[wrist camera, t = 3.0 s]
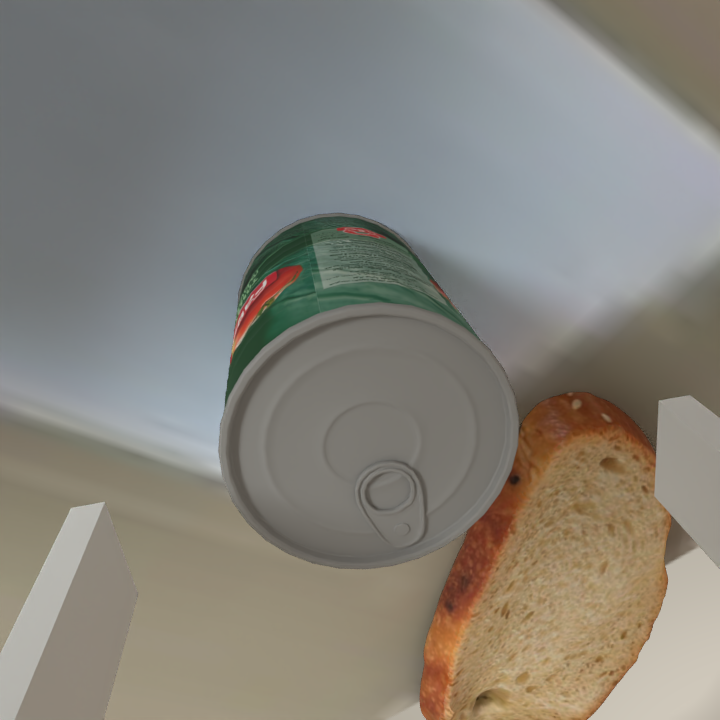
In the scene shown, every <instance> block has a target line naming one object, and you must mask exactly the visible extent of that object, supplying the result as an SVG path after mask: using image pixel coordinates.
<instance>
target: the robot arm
mask: <svg viewBox="0 0 720 720" xmlns="http://www.w3.org/2000/svg"><path fill="white" fill-rule="evenodd" d="M654 496H655V497H656V499H657V500H658V501H659V502H660V503H661V504H662V505H663V506H664V507H665V509H666V510H667V511H668V512H669V513H670V514H671V515H672V516H673V518H674V519H675V520H676V521H677V522H678V523H679V524H680V525H681V526H682V528H683V529H684V530H685V531H686V532H687V533H688V534H689V535H690V536H691V538H692V539H693V540H694V541H695V542H696V543H697V544H698V545H699V546H700V548H701V549H702V550H703V551H704V552H705V553H706V554H707V555H708V556H709V558H710V559H711V560H712V561H713V562H714V563H715V564H716V565H717V566H718V568H719V569H720V418H719V417H718V416H716V415H715V414H714V413H713V412H711V411H710V410H709V409H707V408H706V407H705V406H703V405H702V404H701V403H700V402H698V401H697V400H696V399H694V398H693V397H692V396H691V395H687V396H681V397H676V398H670V399H665V400H659V406H658V428H657V449H656V470H655V491H654ZM137 597H138V592H137V589H136V586H135V584H134V581H133V578H132V575H131V573H130V570H129V567H128V564H127V562H126V559H125V556H124V553H123V551H122V548H121V545H120V542H119V540H118V537H117V534H116V531H115V528H114V526H113V523H112V520H111V517H110V515H109V512H108V509H107V506H106V504H105V502H102V503H96V504H91V505H85V506H80V507H74V508H71V509H70V512H69V514H68V516H67V518H66V520H65V522H64V524H63V526H62V528H61V530H60V532H59V534H58V536H57V538H56V540H55V542H54V544H53V546H52V549H51V551H50V553H49V555H48V557H47V559H46V561H45V563H44V565H43V567H42V569H41V571H40V573H39V575H38V577H37V579H36V581H35V583H34V586H33V588H32V590H31V592H30V594H29V596H28V598H27V600H26V602H25V604H24V606H23V608H22V610H21V612H20V614H19V616H18V618H17V620H16V623H15V625H14V627H13V629H12V631H11V633H10V635H9V637H8V639H7V641H6V643H5V645H4V647H3V649H2V651H1V653H0V720H104V716H105V713H106V709H107V706H108V702H109V698H110V695H111V691H112V687H113V684H114V680H115V676H116V673H117V669H118V666H119V662H120V658H121V655H122V651H123V647H124V644H125V640H126V637H127V633H128V629H129V626H130V622H131V618H132V615H133V611H134V607H135V604H136V600H137Z"/></svg>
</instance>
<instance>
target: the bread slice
mask: <svg viewBox="0 0 720 720" xmlns="http://www.w3.org/2000/svg"><path fill="white" fill-rule="evenodd" d="M655 470H656V453H655V451H654V449H653V447H652V445H651V444H650V442H649V441H648V439H647V437H646V436H645V434H644V433H643V431H642V430H641V429H640V428H639V427H638V426H637V425H636V424H635V422H634V421H633V420H632V419H631V418H630V417H629V416H628V415H627V414H625V413H624V412H623V411H621V410H620V409H619V408H618V407H616V406H615V405H614V404H612V403H610V402H609V401H607V400H604V399H601V398H598V397H596V396H594V395H592V394H590V393H586V392H570V393H566V394H562V395H559V396H555V397H551V398H548V399H546V400H544V401H542V402H540V403H539V404H538V405H536V406H535V407H534V408H533V410H532V411H531V412H530V413H529V414H528V415H527V416H526V417H525V419H524V420H523V422H522V425H521V428H520V430H519V437H518V448H517V452H516V455H515V459H514V463H513V466H512V470H511V472H510V474H509V476H508V478H507V480H506V482H505V484H504V486H503V488H502V490H501V492H500V494H499V495H498V497H497V498H496V499H495V501H494V502H493V503H492V505H491V506H490V507H489V509H488V510H487V511H486V513H485V514H484V515H483V516H482V517H481V518H480V519H479V520H478V521H476V522H475V523H474V524H473V525H472V526H471V527H470V528H469V529H468V531H467V534H466V537H465V540H464V543H463V545H462V547H461V549H460V551H459V553H458V555H457V557H456V560H455V562H454V564H453V567H452V569H451V571H450V574H449V576H448V579H447V581H446V584H445V586H444V589H443V591H442V594H441V596H440V599H439V602H438V605H437V609H436V611H435V614H434V618H433V621H432V624H431V626H430V628H429V631H428V634H427V638H426V643H425V647H424V661H425V663H424V669H423V675H422V680H421V688H420V708H421V711H422V714H423V715H424V717H425V718H426V720H587V719H588V718H589V717H591V716H592V714H594V712H596V710H597V709H598V708H599V707H600V706H601V705H602V703H603V702H604V701H605V700H606V698H607V697H608V696H609V694H610V693H611V691H612V690H613V689H614V688H615V686H616V685H617V683H618V682H620V680H621V679H622V678H623V676H624V675H625V674H626V672H627V671H628V670H629V669H630V668H631V667H632V666H633V664H634V663H635V662H636V661H637V658H638V654H639V652H640V650H641V649H642V647H643V645H644V644H645V642H646V641H647V640H648V639H649V637H650V633H651V631H652V628H653V624H654V621H655V620H656V618H657V616H658V614H659V612H660V610H661V606H662V602H663V599H664V597H665V594H666V589H667V584H668V577H667V573H666V568H665V563H664V556H665V549H666V541H667V537H668V533H669V530H670V527H671V514H670V513H669V512H668V511H667V510H666V509H665V507H664V506H663V505H662V504H661V503H660V502H659V501H658V500H657V499H656V497H655V496H654V491H655Z"/></svg>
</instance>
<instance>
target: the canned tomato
mask: <svg viewBox="0 0 720 720" xmlns="http://www.w3.org/2000/svg"><path fill="white" fill-rule="evenodd" d="M518 437H519V415H518V410H517V404H516V398H515V394H514V392H513V389H512V387H511V385H510V382H509V380H508V377H507V375H506V373H505V370H504V369H503V367H502V366H501V364H500V363H499V362H498V360H497V359H496V358H495V356H494V355H493V353H492V352H491V351H490V349H489V348H488V347H487V346H486V345H485V344H484V343H482V342H481V340H480V339H479V338H478V336H477V335H476V334H475V332H474V331H473V329H472V328H471V327H470V325H469V324H468V323H467V322H466V320H465V319H464V318H463V316H462V315H461V314H460V313H459V311H458V310H457V309H456V307H455V306H454V305H453V304H452V302H451V301H450V300H449V298H448V297H447V296H446V294H445V293H444V292H443V290H442V289H441V288H440V287H439V285H438V284H437V283H436V281H435V280H434V279H433V277H432V276H431V275H430V274H429V272H428V271H427V270H426V268H425V267H424V266H423V264H422V263H421V262H420V260H419V259H418V257H417V256H416V254H415V253H414V252H413V250H412V249H411V248H410V246H409V245H408V244H407V243H406V242H405V241H404V240H403V239H402V238H401V237H399V236H398V235H397V234H396V233H395V232H394V231H392V230H390V229H389V228H387V227H385V226H383V225H382V224H380V223H378V222H376V221H373V220H370V219H367V218H364V217H361V216H358V215H351V214H343V213H332V214H319V215H315V216H311V217H308V218H304V219H301V220H298V221H296V222H294V223H292V224H290V225H288V226H286V227H284V228H282V229H281V230H280V231H278V232H277V233H276V234H275V235H273V236H272V237H271V238H270V239H268V240H267V241H266V242H265V243H264V244H263V245H262V247H261V248H260V249H259V250H258V251H257V253H256V254H255V255H254V256H253V258H252V260H251V262H250V264H249V265H248V267H247V269H246V271H245V273H244V276H243V279H242V282H241V286H240V289H239V294H238V307H237V314H236V322H235V329H234V338H233V346H232V353H231V358H230V367H229V376H228V380H227V391H226V396H225V410H224V413H223V417H222V420H221V423H220V436H219V450H218V451H219V457H220V464H221V470H222V476H223V480H224V482H225V485H226V487H227V490H228V492H229V494H230V497H231V499H232V502H233V503H234V505H235V506H236V508H237V509H238V510H239V512H240V513H241V515H242V516H243V518H244V519H245V520H246V522H247V523H248V524H249V525H250V526H251V527H252V528H253V529H254V530H255V531H257V532H258V533H259V534H260V535H261V536H262V537H263V538H264V539H265V540H266V541H268V542H270V543H271V544H273V545H275V546H276V547H278V548H279V549H281V550H283V551H284V552H286V553H288V554H290V555H292V556H295V557H298V558H300V559H303V560H306V561H308V562H311V563H314V564H319V565H324V566H329V567H334V568H343V569H371V568H379V567H387V566H394V565H397V564H401V563H404V562H408V561H411V560H415V559H418V558H420V557H423V556H425V555H427V554H429V553H431V552H433V551H435V550H438V549H440V548H442V547H444V546H445V545H447V544H448V543H450V542H451V541H453V540H454V539H456V538H457V537H459V536H460V535H462V534H463V533H465V532H466V531H467V530H468V529H469V528H470V527H471V526H472V525H473V524H474V523H475V522H476V521H478V520H479V519H480V518H481V517H482V516H483V515H484V514H485V513H486V511H487V510H488V509H489V507H490V506H491V505H492V503H493V502H494V501H495V499H496V498H497V497H498V495H499V494H500V492H501V490H502V488H503V486H504V484H505V482H506V480H507V478H508V476H509V474H510V472H511V470H512V466H513V463H514V459H515V455H516V452H517V448H518Z"/></svg>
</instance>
